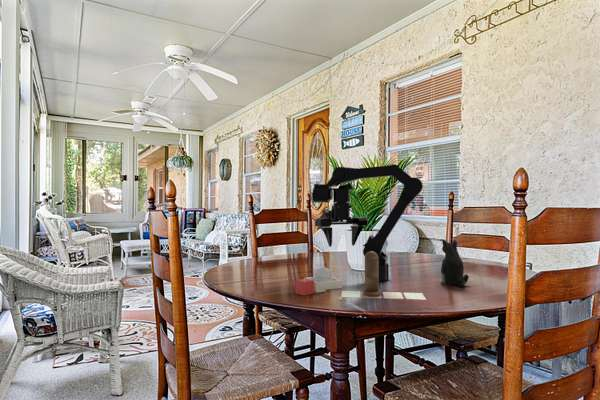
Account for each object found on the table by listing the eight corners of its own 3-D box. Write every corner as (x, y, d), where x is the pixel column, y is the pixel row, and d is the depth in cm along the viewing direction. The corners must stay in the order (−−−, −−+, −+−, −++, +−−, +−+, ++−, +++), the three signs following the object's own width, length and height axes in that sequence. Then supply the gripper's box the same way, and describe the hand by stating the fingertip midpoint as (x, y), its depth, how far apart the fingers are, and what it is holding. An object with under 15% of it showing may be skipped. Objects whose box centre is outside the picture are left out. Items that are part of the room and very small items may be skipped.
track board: (422, 294, 114) (422, 292, 114) (428, 303, 104) (428, 300, 104) (341, 292, 117) (341, 289, 117) (339, 300, 107) (339, 297, 107)
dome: (327, 282, 126) (327, 265, 127) (335, 285, 121) (335, 268, 121) (311, 283, 124) (310, 266, 124) (318, 287, 119) (318, 269, 119)
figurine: (463, 282, 131) (462, 238, 131) (477, 288, 121) (477, 241, 121) (435, 282, 130) (435, 238, 130) (447, 289, 121) (447, 241, 121)
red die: (305, 291, 119) (305, 278, 119) (314, 293, 116) (313, 280, 116) (295, 293, 116) (295, 279, 116) (304, 295, 113) (304, 281, 113)
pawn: (380, 292, 113) (380, 250, 113) (381, 297, 108) (381, 252, 108) (362, 292, 114) (362, 250, 114) (362, 296, 109) (362, 252, 109)
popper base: (329, 284, 128) (329, 275, 128) (342, 290, 120) (342, 280, 120) (305, 286, 125) (304, 277, 125) (315, 292, 117) (315, 282, 117)
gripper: (353, 202, 147) (353, 242, 147) (308, 202, 141) (309, 245, 140) (368, 202, 137) (368, 245, 137) (321, 202, 130) (321, 248, 130)
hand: (341, 246), depth 136 cm, fingers open, 9 cm apart
